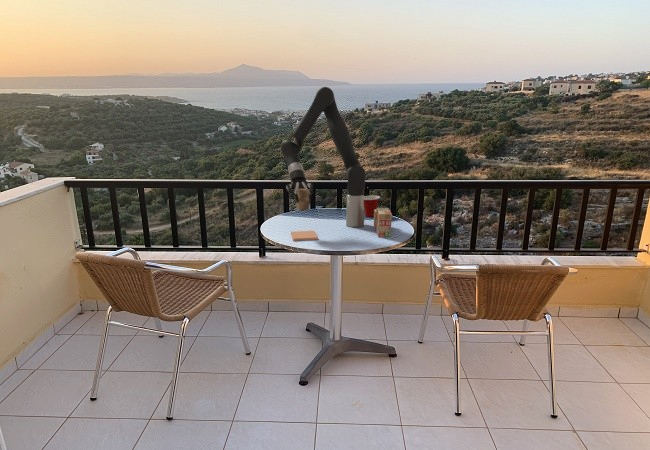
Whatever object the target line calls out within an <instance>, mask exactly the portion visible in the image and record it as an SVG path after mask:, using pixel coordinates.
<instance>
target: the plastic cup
mask: <svg viewBox="0 0 650 450" xmlns="http://www.w3.org/2000/svg"><path fill="white" fill-rule="evenodd" d="M380 198H381V196H379V195H375V194H374V195H364V207H363V208H364V210H365V211H364V216H365V217H366V218H374V210H376V208H378V206H379V201H380Z"/></svg>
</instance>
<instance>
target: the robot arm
mask: <svg viewBox="0 0 650 450" xmlns="http://www.w3.org/2000/svg"><path fill="white" fill-rule="evenodd" d="M322 113H323V114H324V116H325V119H326V123H327V127H328V131H329V133H330V136H331V139H332V141H333V144H334V145H335V148H336V150H337V152H338V154H339V155H340V156H341V157H340V158H341V160H342V162H343V165H344V167H345V172H346V175H347V176H346V177H347V188H346V209H345V210H346V211H345V212H346V213H345V214H346V215H345V216H346V218H345V225H346V226H347V227H349V228H360V227H364V226H365V210H364V196H365V189H366V170H365V168H364V167H363V166H362V165H361V163H360V162H359V159H358V157H357V155H356V153H355V148H354V142H353V140H352V136H351V133H350V131H349V129H348V127H347V124H346V123H345V121H344V119H343V117H342V115H341V113H340V111H339V109H338V106H337V103H336V98H335V93H334V91H333V90H332V89H331V88H330V87H327V86H321V87H320V88H319V89H317V91H316V93H315V96H314V99H313V101H312V103H311V105H310V106H309V108H308V109H307V112H305V114H304V115H303V117H302V118H301V119H300V121H299V123H298V124H297V126H296V127H295V128H294V130H293V132H292V136H293V137H294V141H293V140H290V139H284V140H283V141H282V142H281V143H280V151H281V154H282V156H283V158H284V160H285V162H286V165H287V168H288V169H287V170H288V175H289V178H290V179H289V180H290V183H287V184H286V186H285V188H286V189H285V190H286V191H287V192H288V194H289V196H290V197H294V201H295V203H296V202H297V203H298V202H299V199H298V195H297V189H298V188H307V189H308V188H309V189H308V190H309V203H310V202H311V200H312V197H311V196H312V195H313V192H314V183H313V182H310V183H309V182H308V181H307V178H306V175H305V172H304V167H303V165H302V162H301V158H300V156H299V154H301V153H300V152H301V151H302V147H303V145H304V142H305V140H306V138H307V136H308V135H309V134H310V132H311V130H312V129H313V127H314V125H315V124H316V122H317V120H318V118H319V117H320V115H322ZM293 189H294V191H293Z"/></svg>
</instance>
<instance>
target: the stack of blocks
mask: <svg viewBox="0 0 650 450" xmlns="http://www.w3.org/2000/svg"><path fill="white" fill-rule="evenodd" d="M392 219H393V214H392V212H391V210H390V208H389V207H377V208H376V210H374V217H373V227H374V229H375V232H376V236H377V237H378V238H391V235H392Z"/></svg>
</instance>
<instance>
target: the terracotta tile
mask: <svg viewBox="0 0 650 450" xmlns="http://www.w3.org/2000/svg"><path fill="white" fill-rule="evenodd" d="M290 235H292V236H291V239H292V240H293V242H300V241H299V240H304V241H318V240H319V237H318V235H317V233H316V231H315V230H301V231H300V230H298V231H297V230H296V231H295V230H294V231H290Z"/></svg>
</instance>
